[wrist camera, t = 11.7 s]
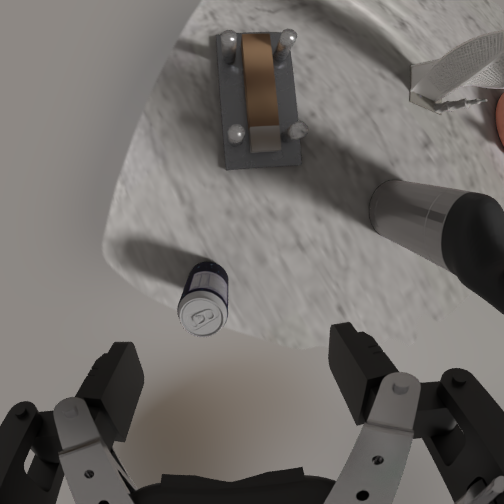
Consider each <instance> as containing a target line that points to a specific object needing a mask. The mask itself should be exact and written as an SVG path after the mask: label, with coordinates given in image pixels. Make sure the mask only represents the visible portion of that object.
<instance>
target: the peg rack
mask: <svg viewBox="0 0 504 504" xmlns="http://www.w3.org/2000/svg"><path fill="white" fill-rule="evenodd" d="M260 33H270V40H271V49H272V57H273V66H274V75H275V85H276V95H277V105H278V116H279V127H280V139H281V150H279V151H275V152H258V153H250V145H249V133H248V121H247V109H246V97H245V85H244V74H243V62H242V51H241V38H242V34H260ZM260 33H235V32H234V31H232V30H226V31H224V32H223V33H222V34H221V35H216V43H217V58H218V73H219V87H220V101H221V114H222V127H223V139H224V152H225V163H226V170H234V169H246V168H259V167H274V166H293V165H302V162H301V149H300V138H302V137H304V136H306V135H307V133H308V127H307V125H306V124H305V123H304V122H301V121H298V114H297V103H296V94H295V85H294V76H293V67H292V59H291V52H290V49H291V48H292V46H293V44H294V42H295V40H296V38H297V33H296V32H295V31H294V30H292V29H285V30H283V32H282V33H281V32H260Z"/></svg>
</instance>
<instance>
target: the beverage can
mask: <svg viewBox="0 0 504 504" xmlns="http://www.w3.org/2000/svg"><path fill="white" fill-rule="evenodd" d="M178 317H179V319H180V323H181V325H182V326H183V328H184V329H185V330H186V331H187V332H188V333H190V334H192V335H194V336H197V337H209V336H212V335H214V334H216V333H217V332H218V331H219V330H220V329H221V328H222V327H223V326H224V324H225V323H226V321H227V317H228V275H227V273H226V271H225V270H224V269H223V268H222V267H221V266H220V265H218V264H216V263H214V262H202V263H199V264H197V265H196V266H195V267H194V268H193V269H192V270H191V272H190V274H189V277H188V280H187V282H186V285H185V288H184V291H183V293H182V296H181V299H180V301H179V304H178Z"/></svg>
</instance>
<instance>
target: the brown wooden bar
mask: <svg viewBox="0 0 504 504" xmlns="http://www.w3.org/2000/svg"><path fill="white" fill-rule="evenodd" d="M241 51H242V62H243V74H244V85H245V97H246V109H247V121H248V133H249V145H250V153H258V152H275V151H279V150H281V139H280V127H279V116H278V105H277V95H276V85H275V75H274V66H273V57H272V49H271V40H270V33H260V34H242V38H241Z"/></svg>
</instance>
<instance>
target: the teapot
mask: <svg viewBox="0 0 504 504" xmlns="http://www.w3.org/2000/svg"><path fill="white" fill-rule="evenodd" d="M496 125H497V130H498V134H499V137H500V140H501V142H502V144H503V146H504V93H503V94H502V95H501V97H500V99H499V101H498V103H497V107H496Z"/></svg>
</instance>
